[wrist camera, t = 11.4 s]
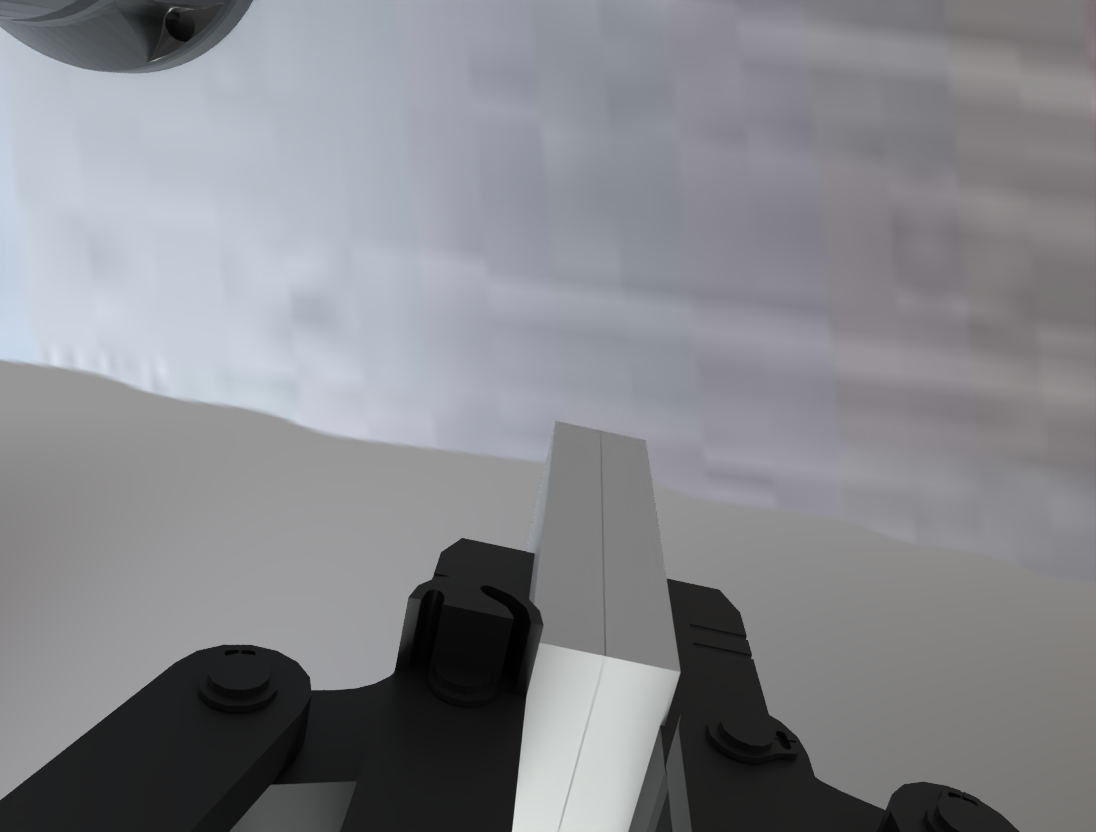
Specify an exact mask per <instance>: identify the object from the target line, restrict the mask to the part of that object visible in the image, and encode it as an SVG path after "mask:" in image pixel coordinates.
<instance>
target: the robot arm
mask: <svg viewBox="0 0 1096 832" xmlns="http://www.w3.org/2000/svg"><path fill="white" fill-rule="evenodd" d="M252 1H253V0H0V27H1V28H3V29H4V30H5V31H7V32H8V33H9V34H10V35H12V36H13V37H15V38H16V39H18V40H19V41H20V42H22V43H24V44H25V45H27V46H29V47H30V48H32V49H34V50H36V51H38V52H40V53H42V54H44V55H46V56H48V57H50V58H53V59H55V60H58V61H60V62H63V63H66V64H69V65H72V66H76V67H80V68H83V69H89V70H94V71H102V72H116V73H148V72H155V71H161V70H165V69H170V68H173V67H176V66H179V65H182V64H184V63H187V62H189V61H191V60H193V59H195V58H197V57H199V56H201V55H202V54H204V53H205V52H207V51H208V50H210V49H211V48H213V47H214V46H215V45H217V44H218V43H219V42H220V41H221V40H222V39H223V38H225V37H226V36H227V35H228V34H229V33H230V32H231V30H232V29H233V28H234V27H235V26H236V25H237V23H238V22H239V21H240V20H241V18H242V17H243V16H244V14H245V13H246V11H247V9H248V8H249V6H250V4H251V3H252ZM751 656H752V654H751V650H750V646H749V643H748V640H746V632H745V629H744V625H743V621H742V618H741V615H740V612H739V611H738V610H737V609H736V608H735V607H734V605H733V604H731V602H730V601H729V600H728V599H727V598H726V597H725V596H724V594H723V593H722V592H721V591H720V590H718V589H713V588H709V587H704V586H699V585H695V584H690V583H685V582H681V581H676V580H671V579H667V578H666V572H665V565H664V559H663V552H662V545H661V539H660V532H659V525H658V519H657V512H656V506H655V499H654V492H653V486H652V479H651V472H650V466H649V459H648V452H647V446H646V440H641V439H637V438H632V437H628V436H623V435H618V434H614V433H609V432H604V431H600V430H595V429H590V428H586V427H581V426H577V425H572V424H567V423H563V422H558V421H555V426H554V430H553V434H552V439H551V443H550V448H549V452H548V456H547V461H546V465H545V470H544V474H543V478H542V483H541V487H540V492H539V496H538V501H537V505H536V509H535V513H534V518H533V522H532V527H531V531H530V535H529V540H528V544H527V549H526V551H521V550H516V549H512V548H507V547H502V546H498V545H493V544H488V543H483V542H478V541H474V540H469V539H465V538H462V539H460V540H459V541H457V542H456V543H454V544H453V545H451V546H450V547H448V548H447V549H445V550H444V551H442V552H441V554H440V557H439V561H438V563H437V566H436V569H435V572H434V577H433V578H432V580H430V581H428V582H425V583H423V584H421V585H419V586H417V588H416V589H415V590H414V591H413V592H412V594H411V595H410V596H409V598H408V603H407V609H406V614H405V619H404V625H403V630H402V636H401V642H400V646H399V652H398V657H397V663H396V668H395V672H394V673H393V674H392V675H391V676H390V677H388V678H386V679H383V680H382V681H379V682H377V683H375V684H372V685H368V686H364V687H360V688H356V689H345V690H313V691H311V684H310V677H309V676H308V675H307V673H306V672H305V671H304V670H303V668H302V667H301V666H300V665H299V663H298V662H296V661H294V660H292V659H291V658H289V657H287V656H285V655H283V654H282V653H280V652H278V651H275V650H271V649H266V648H262V647H258V646H253V645H221V646H217V647H212V648H208V649H203V650H199V651H196V652H194V653H193V654H191V655H189V656H187V657H185V658H183V659H181V660H179V661H178V662H176V663H174V664H173V665H172V666H170V667H169V668H168V669H167V670H165V671H164V672H163V673H162V674H160V675H159V676H158V677H156V678H155V679H154V680H153V681H151V682H150V683H149V684H148V685H147V686H145V687H144V688H142V689H141V690H140V691H139V692H137V693H136V694H135V695H134V696H132V697H131V698H130V699H129V700H127V701H126V702H125V703H123V704H122V705H121V706H120V707H118V708H117V709H116V710H115V711H113V712H112V713H111V714H109V715H108V716H107V717H106V718H104V719H103V720H102V721H101V722H99V723H98V724H97V725H95V726H94V727H93V728H92V729H90V730H89V731H88V732H87V733H85V734H84V735H83V736H81V737H80V738H79V739H78V740H76V741H75V742H74V743H73V744H71V745H70V746H69V747H67V748H66V749H65V750H64V751H62V752H61V753H60V754H59V755H57V756H56V757H55V758H54V759H52V760H51V761H50V762H48V763H47V764H46V765H45V766H43V767H42V768H41V769H40V770H38V771H37V772H36V773H34V774H33V775H32V776H31V777H29V778H28V779H27V780H26V781H24V782H23V783H22V784H20V785H19V786H18V787H17V788H15V789H14V790H13V791H12V792H10V793H9V794H8V795H6V796H5V797H4V798H3V799H1V800H0V832H1019V831H1018V830H1017V829H1016V828H1015V827H1014V826H1013V825H1012V824H1011V823H1010V822H1009V821H1008V820H1006V818H1004V817H1003V816H1002V815H1001V814H1000V813H998V812H997V811H995V810H994V809H992V808H991V807H989V806H988V805H986V804H984V803H983V802H981V801H980V800H979V799H978V798H976V797H974V796H972V795H970V794H967V793H965V792H964V793H963V792H961V791H960V790H957V789H954V788H951V787H949V786H944V785H938V784H933V783H927V782H918V783H911V784H904V785H902V786H901V787H900V788H899V789H898V790H897V791H895V792H894V793H893V794H892V796H891V798H890V801H889V803H888V806H887V808H886V810H883V809H881V808H879V807H876V806H874V805H872V804H869V803H867V802H864V801H862V800H860V799H858V798H855V797H853V796H851V795H848V794H846V793H844V792H841V791H839V790H837V789H836V788H834V787H832V786H830V785H828V784H826V783H824V782H822V781H820V780H819V779H817V778H816V777H815V776H814V772H813V770H812V767H811V763H810V760H809V757H808V754H807V752H806V751H805V749H804V747H803V745H802V744H801V743H800V740H799V739H798V737H797V736H796V735H795V734H793V733H792V732H791V731H790V730H789V729H788V728H787V727H786V726H785V725H784V724H782V723H781V722H780V721H779V720H777V719H775V718H773V717H772V716H770V715H769V714H768V710H767V706H766V703H765V699H764V696H763V692H762V689H761V685H760V682H759V678H758V675H757V671H756V667H755V664H754V660H753V659H751Z"/></svg>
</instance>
